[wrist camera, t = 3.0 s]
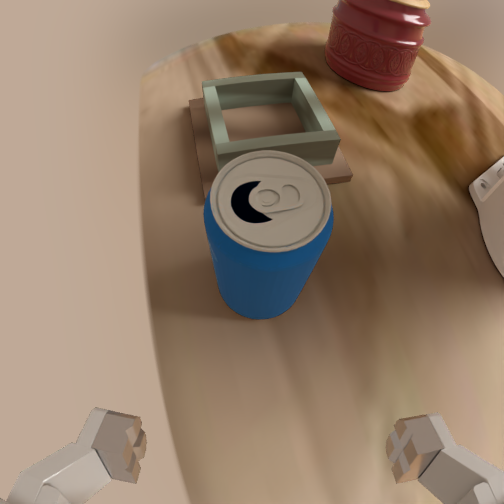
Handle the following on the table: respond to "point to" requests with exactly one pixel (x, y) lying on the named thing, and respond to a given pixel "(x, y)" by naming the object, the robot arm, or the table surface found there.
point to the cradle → (264, 124)
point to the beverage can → (266, 230)
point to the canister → (376, 41)
